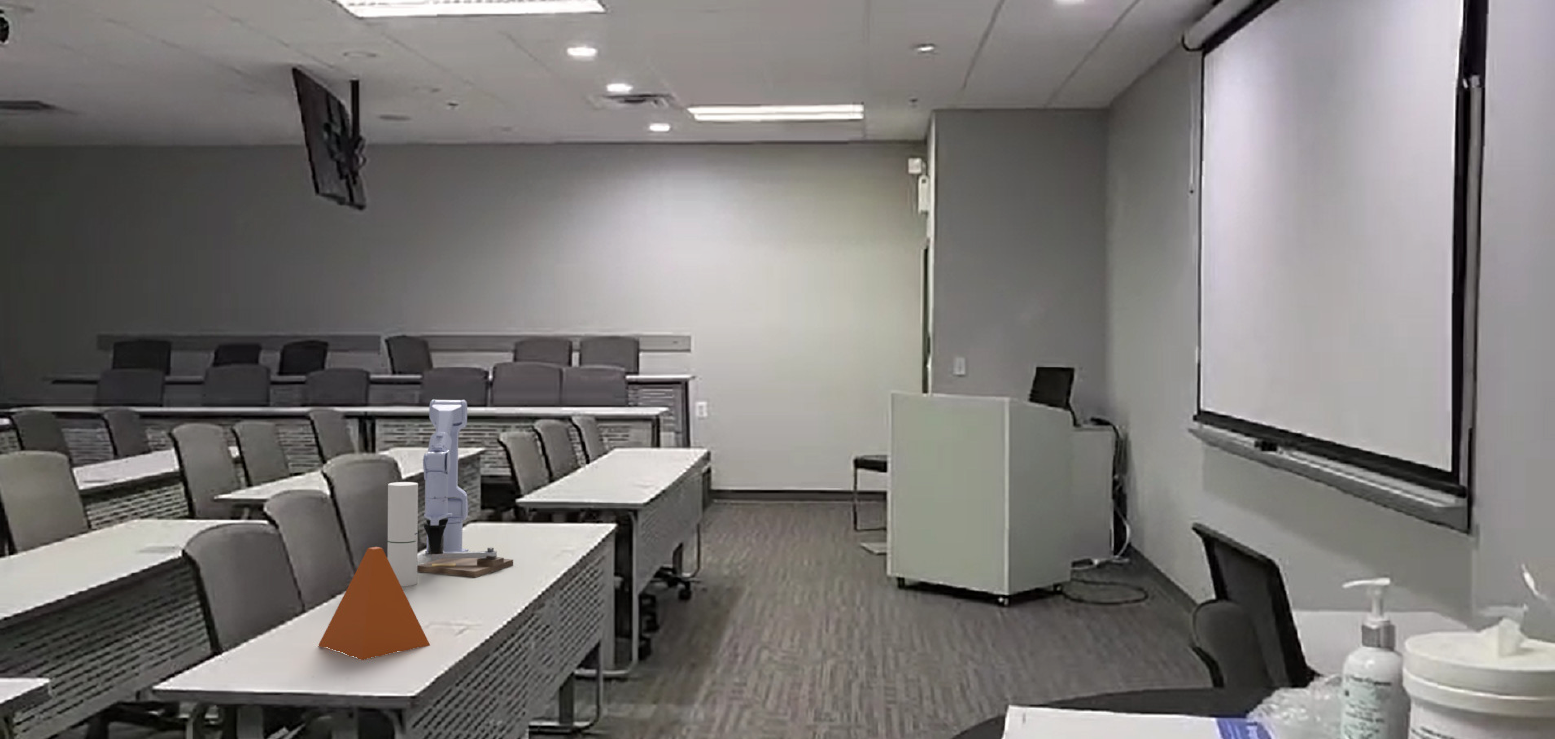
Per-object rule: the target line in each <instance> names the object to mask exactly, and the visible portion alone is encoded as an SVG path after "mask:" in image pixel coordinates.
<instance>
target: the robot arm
mask: <svg viewBox="0 0 1555 739" xmlns="http://www.w3.org/2000/svg"><path fill="white" fill-rule="evenodd" d="M428 407H429V408H428V410H429V411H428V412H429V413H428V414H429V420H430V422H431V424H432V426H433V427H434V428H435V433H433V434H432V435H431V436H430V438H429V443H428V448H427V453H424V455H423V458H422V459H423V460H422V469H423V479H424V480H425V482H424V485H425V486H424V487H425V488H424V502H425V503H424V514H423V517H424V519H426V520H425V521H426V523H424V524H423V529H424V530H425V532H426V550H425V551H424V553H425V554H429V553H428V539H429V545H430V550H431V552H433V551H439V550H440V546H441V540H442V535H443V536H444V552H462V551H469V549H468V548H463V521H466V519H467V518H468V516H469V515H468V513H469V501H468V494H467V492H466V491H465V490H464V489H462V488H461V487H459V486H458V484H459V483H458V482H459V480H458V478H459V477H458V476H459V474H458V473H459V434H460V432H461V430H462V429H465V428H466V427H467V424H468V402H467V400H465V399H432V400H431V401H429V406H428Z"/></svg>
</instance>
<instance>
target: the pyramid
mask: <svg viewBox="0 0 1555 739" xmlns="http://www.w3.org/2000/svg"><path fill="white" fill-rule="evenodd" d="M326 627H327V628H326V629H325V631H324V633H323V635H322V638H321V639H320V640H319V643H318V645H319V646H322V647H328V648H330V649H333V650H336V651H340V652H343V653H345V654H347V655H349V656H348V657H350V656H354V657H357V658H358V659H357V660H359V659H361V660H360V661H365V660H368V659H367V658H370V659H372V658H371V657H374V658H376V657H375V656H379V657H382V655H384V656H386V655H385V654H388V655H390V654H389V653H393V652H397V651H402V652H405V651H410V649H411V650H414V649H413V648H415V649H418V648H417V647H420V648H423V647H424V648H425V647H429V646H431V644H430V641H429V639H428V638H427V635H426V634H425V632H424V629H423V627H422V626H421V624H420V622H419V620H418V617H417V614H415V611H414V610H413V607H412V606H411V604H410V602H409V599H408V598H407V596H406V593H405V592H404V589H403V586H401V585H400V583H399V581H398V579H397V577H396V575H395V573H394V571H393V569H392V567H391V565H390V563H389V561H388V556H387V555H386V553H385V551H384V549H383V548H382V547H379V546H372V547H368V548H367V549H366V551H365V553H364V555H363V557H362V559H361V560H360V563H359V565H358V567H357V569H356V570H355V573H354V575H353V577H352V579H351V581H350V582H349V585H348V587H347V588H346V590H345V592H344V594H343V596H342V598H341V600H340V602H339V604H338V606H337V608H336V610H335V612H334V613H333V615H332V617H331V620H330V622H329V623H328V625H327V626H326ZM319 646H318V647H319ZM322 647H321V648H322ZM397 653H398V652H397ZM393 654H394V653H393ZM347 655H346V656H347ZM364 659H365V660H364Z"/></svg>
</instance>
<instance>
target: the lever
mask: <svg viewBox="0 0 1555 739" xmlns="http://www.w3.org/2000/svg"><path fill="white" fill-rule="evenodd" d="M494 549H495V548H494V547H487V550H474V551H471V550H470V551H462V552H444V536H443V535H442V540H441V546H440V550H439V551H433V552H431V550H430V545H429V539H428V553H427V554H430V555H431V560H438V559H458V558H496V557H498V556H497V554H498V553H497V550H494Z"/></svg>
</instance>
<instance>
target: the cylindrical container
mask: <svg viewBox="0 0 1555 739" xmlns="http://www.w3.org/2000/svg"><path fill="white" fill-rule="evenodd" d="M418 511H419V483H418V482H413V481H399V482H397V481H396V482H390V483H388V484H387V559H388V561H389V563H390V565H391V567H392V569H393V571H394V573H395V575H396V577H397V579H398V581H399V583H400V585H401V587H410V586H415V585H417V584H418V571H417V565H418V543H419V542H418V526H419V525H418V521H419V518H418V517H419V516H418V515H419V514H418V513H419V512H418Z"/></svg>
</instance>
